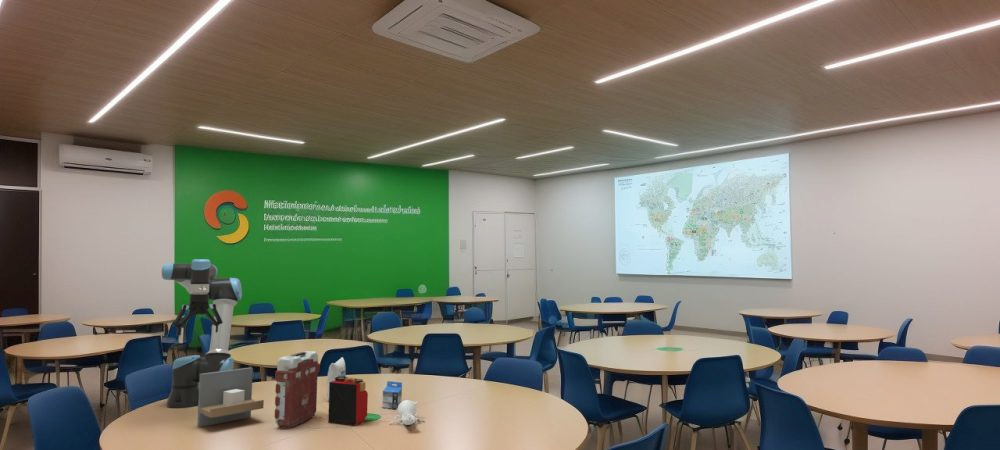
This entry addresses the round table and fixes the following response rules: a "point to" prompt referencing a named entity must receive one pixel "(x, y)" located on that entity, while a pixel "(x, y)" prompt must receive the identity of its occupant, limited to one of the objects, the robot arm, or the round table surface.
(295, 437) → the round table surface
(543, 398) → the round table surface
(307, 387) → the first aid kit
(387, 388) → the label tape cartridge
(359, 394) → the radio
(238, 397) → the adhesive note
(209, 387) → the board
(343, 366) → the pouch
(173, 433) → the round table surface
